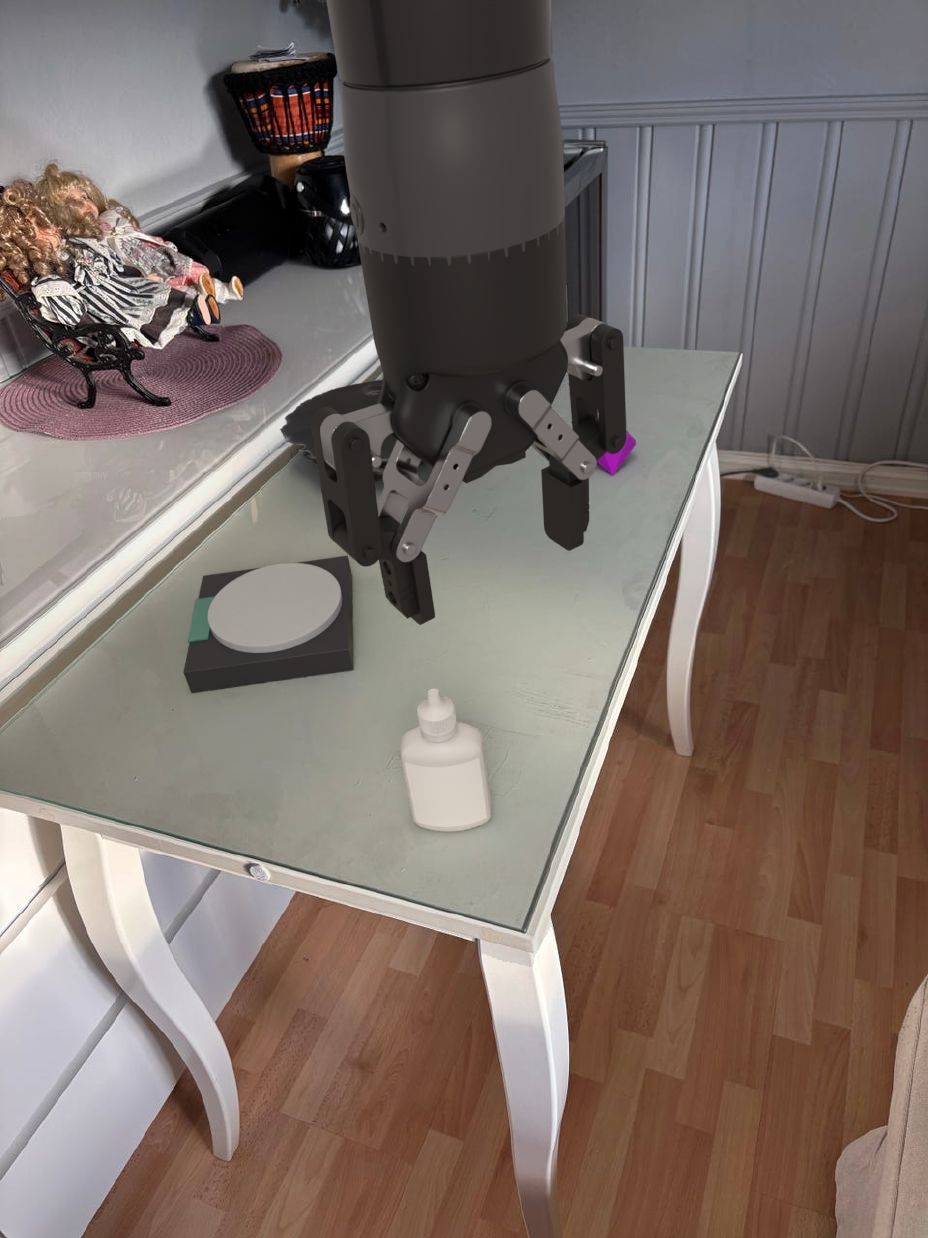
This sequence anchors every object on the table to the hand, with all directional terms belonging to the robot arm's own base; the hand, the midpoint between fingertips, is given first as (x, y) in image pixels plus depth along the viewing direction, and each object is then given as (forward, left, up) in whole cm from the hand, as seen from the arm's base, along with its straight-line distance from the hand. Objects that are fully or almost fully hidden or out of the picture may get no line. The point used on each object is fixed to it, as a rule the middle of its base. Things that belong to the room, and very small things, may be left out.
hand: (493, 576), depth 43 cm
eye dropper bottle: (-4, +8, -26) cm, 28 cm away
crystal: (+18, +54, -26) cm, 62 cm away
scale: (-18, +32, -26) cm, 45 cm away
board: (-7, +63, -26) cm, 68 cm away
